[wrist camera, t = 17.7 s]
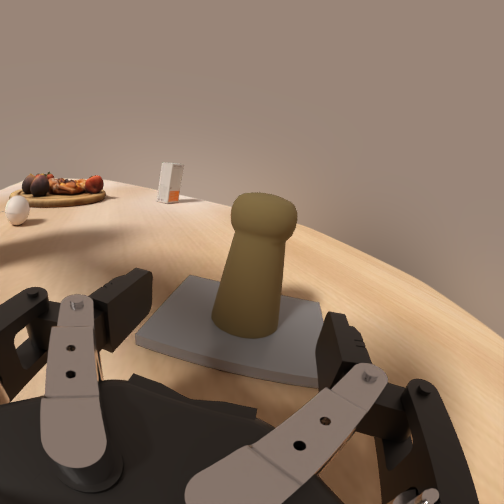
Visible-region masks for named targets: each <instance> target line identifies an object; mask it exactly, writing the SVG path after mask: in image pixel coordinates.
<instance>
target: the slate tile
mask: <svg viewBox="0 0 504 504" xmlns="http://www.w3.org/2000/svg"><path fill="white" fill-rule="evenodd" d="M219 285H220V282H218V281H214V280H210V279H205V278H201V277H197V276H193V275H189V276H188V277H187V278H186V279H185V280H184V281H183V283H182V284H181V285H180V286H179V287H178V288H177V289H176V290H175V291H174V292H173V293H172V294H171V295H170V297H169V298H168V299H167V300H166V301H165V302H164V303H163V304H162V305H161V306H160V307H159V309H158V310H157V311H156V312H155V313H154V314H153V315H152V316H151V317H150V318H149V320H148V321H147V322H146V323H145V324H144V325H143V326H142V327H141V328H140V330H139V331H138V332H137V333H136V334H135V339H136V345H139V346H141V347H144V348H147V349H150V350H153V351H156V352H159V353H162V354H165V355H168V356H172V357H175V358H178V359H182V360H185V361H188V362H192V363H195V364H199V365H203V366H206V367H210V368H214V369H218V370H222V371H226V372H231V373H235V374H239V375H244V376H248V377H253V378H258V379H263V380H268V381H274V382H279V383H285V384H291V385H298V386H305V387H312V388H319V386H318V376H317V366H316V357H315V349H316V344H317V340H318V338H319V335H320V332H321V329H322V326H323V318H322V313H321V308H320V304H319V302H314V301H308V300H303V299H298V298H293V297H288V296H283V295H281V301H280V311H279V321H278V327H277V330H276V331H275V332H274V333H273V334H271V335H269V336H267V337H263V338H256V339H251V338H241V337H237V336H234V335H231V334H229V333H226V332H224V331H222V330H221V329H220V328H218V327H217V326H216V325H215V324H214V322H213V320H212V319H211V316H212V310H213V306H214V302H215V299H216V295H217V292H218V288H219Z"/></svg>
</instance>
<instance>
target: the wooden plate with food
mask: <svg viewBox="0 0 504 504" xmlns="http://www.w3.org/2000/svg"><path fill="white" fill-rule="evenodd" d="M49 173H50V172H48V174H47V175H46V174H37V175H36V176H34V175H32V174H30V175H29V176H27V177H26V178H25V180H24V181H23V184H22V189H21V190H17V191H15V192H13V193H11V195H10V197H9V200H10V199H11V198H12V197H14V196H22V197H24V198H25V199H26V200H27V201H28V203H29V207H39V208H50V207H68V206H77V205H85V204H90V203H95V202H98V201H101V200H103V199H104V198H105V196H106V193H105V191H104V190H103V180H102V178H101V177H100V176H96V175H95V176H91V177H90V178H89V179H87V180H84V179H79V180H71V181H69V180H68V179H65V180H64V179H63V178H58V179H54V176H53V175H52V174H49Z"/></svg>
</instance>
